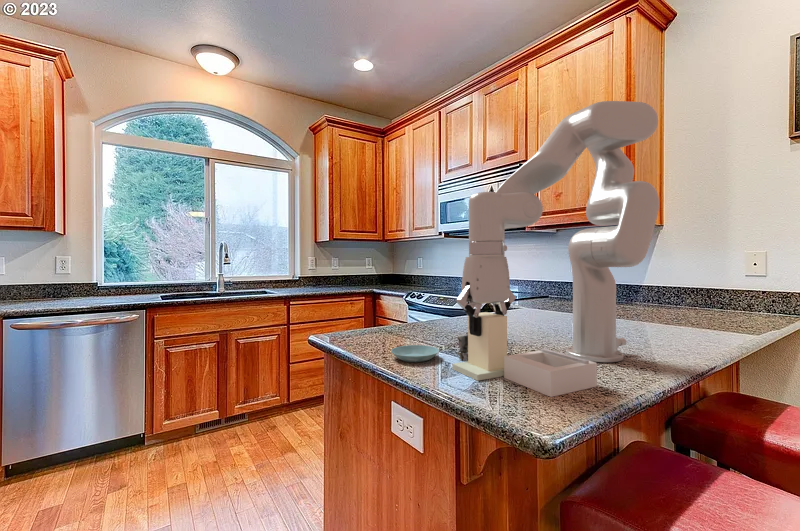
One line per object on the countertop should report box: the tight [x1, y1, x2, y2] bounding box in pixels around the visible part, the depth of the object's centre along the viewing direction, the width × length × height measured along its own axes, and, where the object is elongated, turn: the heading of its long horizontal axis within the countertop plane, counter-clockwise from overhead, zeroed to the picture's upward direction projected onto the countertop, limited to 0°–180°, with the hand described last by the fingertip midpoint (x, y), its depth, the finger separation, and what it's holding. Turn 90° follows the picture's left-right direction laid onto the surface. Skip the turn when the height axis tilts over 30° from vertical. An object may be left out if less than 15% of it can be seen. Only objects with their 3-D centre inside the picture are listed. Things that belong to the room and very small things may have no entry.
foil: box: [456, 332, 509, 362], centre depth 93 cm, size 12×11×15 cm
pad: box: [451, 361, 504, 382], centre depth 82 cm, size 12×9×1 cm
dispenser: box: [503, 347, 598, 398], centre depth 75 cm, size 12×12×5 cm
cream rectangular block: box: [467, 311, 508, 371], centre depth 82 cm, size 5×7×11 cm
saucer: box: [390, 344, 440, 363], centre depth 93 cm, size 12×12×2 cm
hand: (487, 332), depth 82 cm, fingers open, 5 cm apart
